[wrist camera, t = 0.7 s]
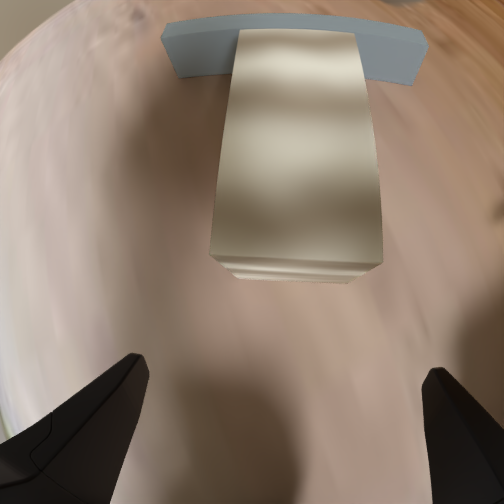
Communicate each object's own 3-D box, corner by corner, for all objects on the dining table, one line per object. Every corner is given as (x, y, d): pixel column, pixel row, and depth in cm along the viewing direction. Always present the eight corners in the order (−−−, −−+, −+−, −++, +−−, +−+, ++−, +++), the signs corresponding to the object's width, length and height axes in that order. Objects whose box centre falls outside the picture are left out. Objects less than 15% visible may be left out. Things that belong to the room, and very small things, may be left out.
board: (411, 85, 25) (428, 46, 19) (178, 78, 28) (160, 38, 22) (406, 69, 25) (421, 30, 20) (183, 62, 28) (167, 23, 22)
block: (346, 284, 22) (383, 262, 13) (238, 278, 23) (209, 254, 14) (340, 106, 25) (354, 33, 17) (253, 103, 26) (239, 29, 17)
